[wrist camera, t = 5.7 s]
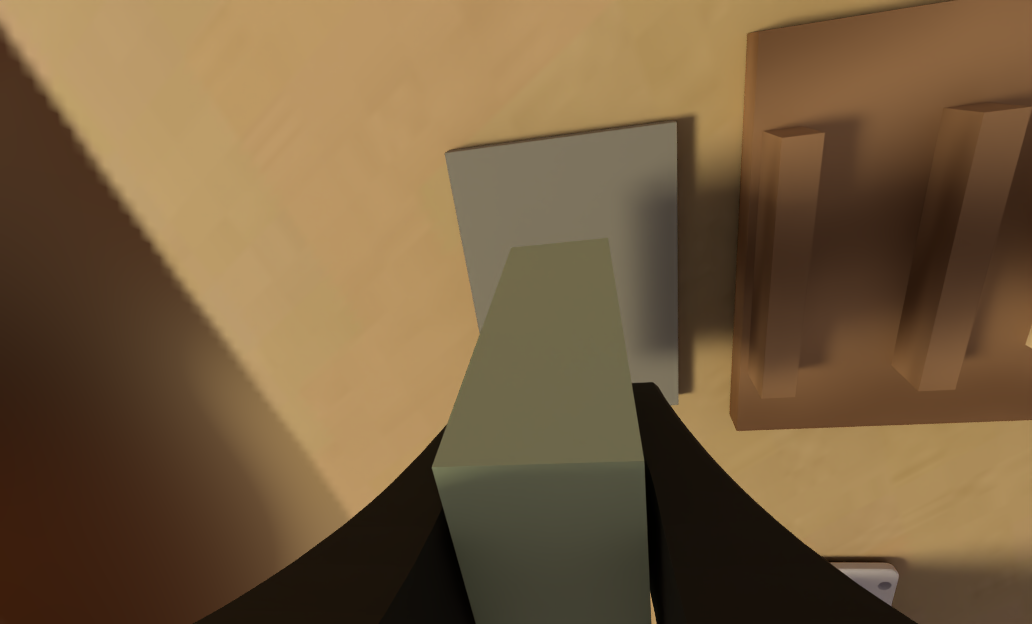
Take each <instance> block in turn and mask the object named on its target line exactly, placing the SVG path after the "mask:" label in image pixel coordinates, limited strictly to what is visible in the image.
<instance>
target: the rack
mask: <svg viewBox="0 0 1032 624" xmlns="http://www.w3.org/2000/svg"><path fill="white" fill-rule="evenodd" d="M1031 326H1032V0H954V1H947V2H941V3H935V4H928V5H922V6H916V7H909V8H903V9H897V10H891V11H884V12H878V13H872V14H865V15H859V16H853V17H846V18H840V19H834V20H828V21H821V22H815V23H809V24H802V25H796V26H790V27H783V28H777V29H771V30H764V31H758V32H753V33H748V34H747V54H746V75H745V96H744V118H743V139H742V160H741V181H740V203H739V224H738V245H737V267H736V288H735V309H734V330H733V352H732V373H731V394H730V416H731V419H732V421H733V423H734V426H735V428H736V430H737V431H747V430H774V429H801V428H828V427H855V426H882V425H909V424H936V423H963V422H990V421H1017V420H1032V348H1030V347H1028V346H1027V345H1025V344H1026V341H1027V338H1028V335H1029V332H1030V329H1031Z"/></svg>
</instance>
